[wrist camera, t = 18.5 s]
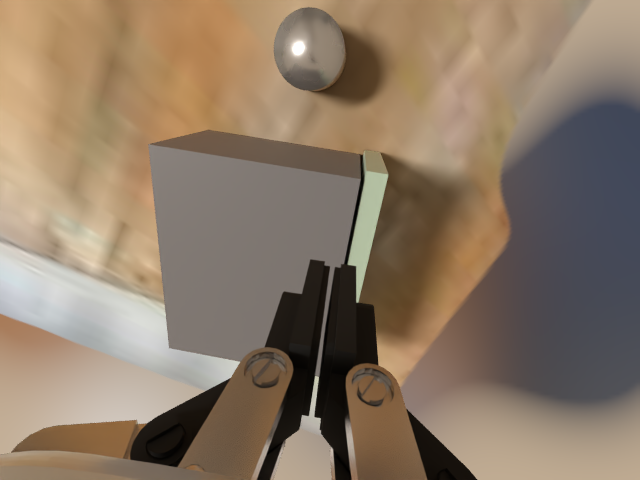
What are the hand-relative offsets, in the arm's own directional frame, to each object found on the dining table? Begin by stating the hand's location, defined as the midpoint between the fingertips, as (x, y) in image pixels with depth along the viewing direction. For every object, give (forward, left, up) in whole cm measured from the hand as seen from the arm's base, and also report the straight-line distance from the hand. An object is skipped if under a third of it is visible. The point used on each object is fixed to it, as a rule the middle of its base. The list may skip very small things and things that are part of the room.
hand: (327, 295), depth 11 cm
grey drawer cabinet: (+7, -6, -19) cm, 21 cm away
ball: (-9, -4, -19) cm, 22 cm away
